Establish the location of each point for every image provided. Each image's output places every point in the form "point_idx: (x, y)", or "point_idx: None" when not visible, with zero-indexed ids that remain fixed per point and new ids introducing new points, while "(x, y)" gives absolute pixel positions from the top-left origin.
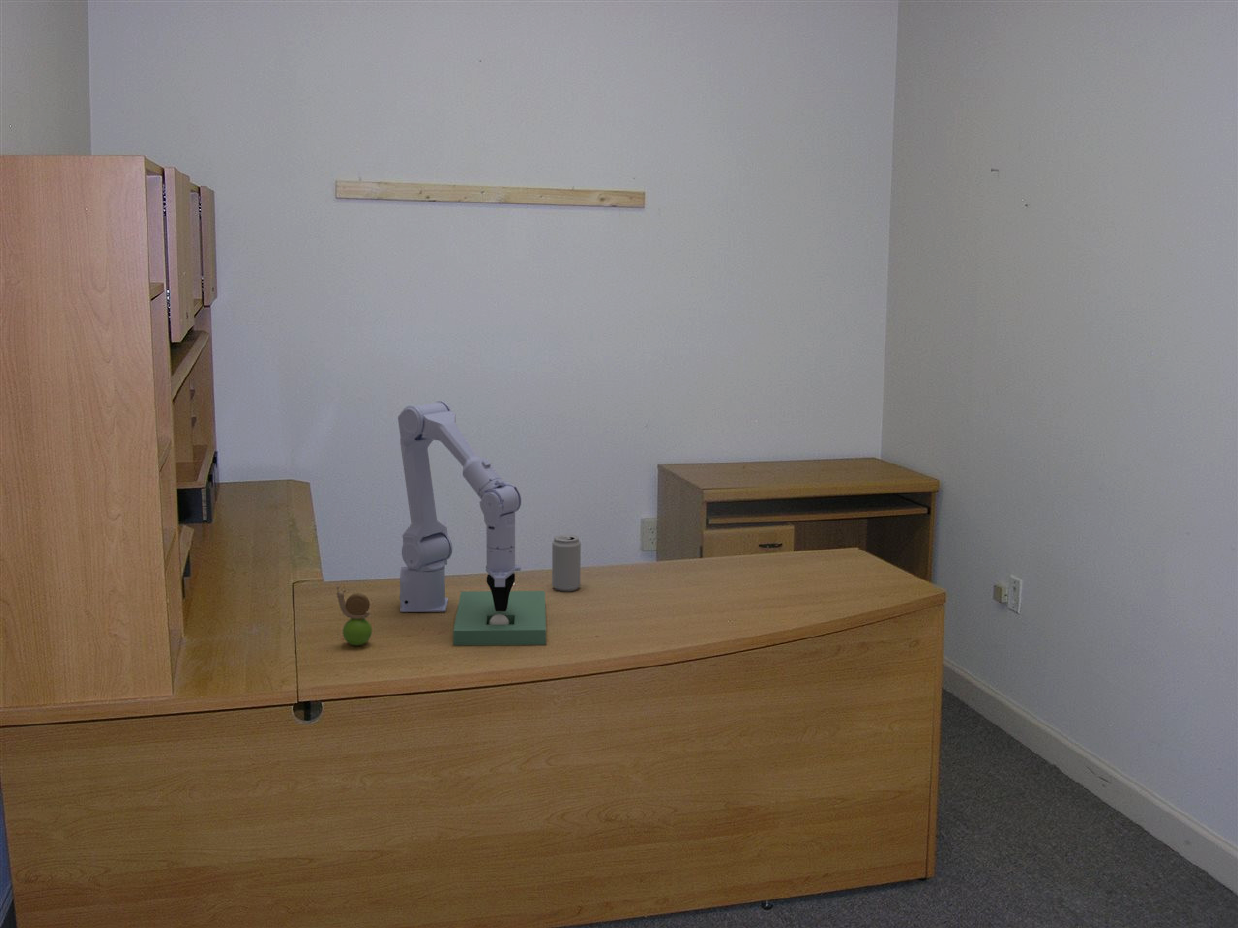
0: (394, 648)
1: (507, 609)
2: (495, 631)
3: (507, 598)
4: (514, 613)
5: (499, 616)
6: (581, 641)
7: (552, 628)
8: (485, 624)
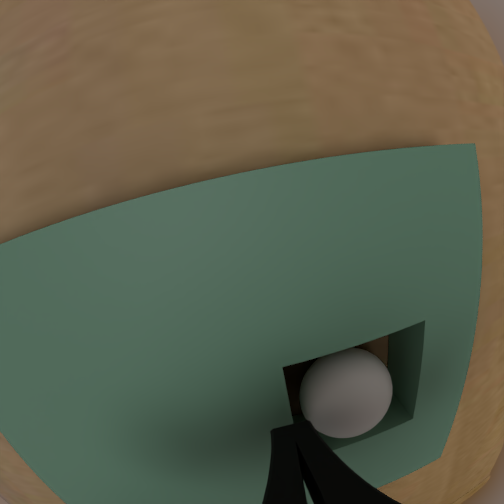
0: (410, 490)
1: (197, 418)
2: (467, 360)
3: (351, 470)
4: (256, 375)
5: (379, 413)
6: (363, 7)
7: (222, 138)
8: (407, 421)
